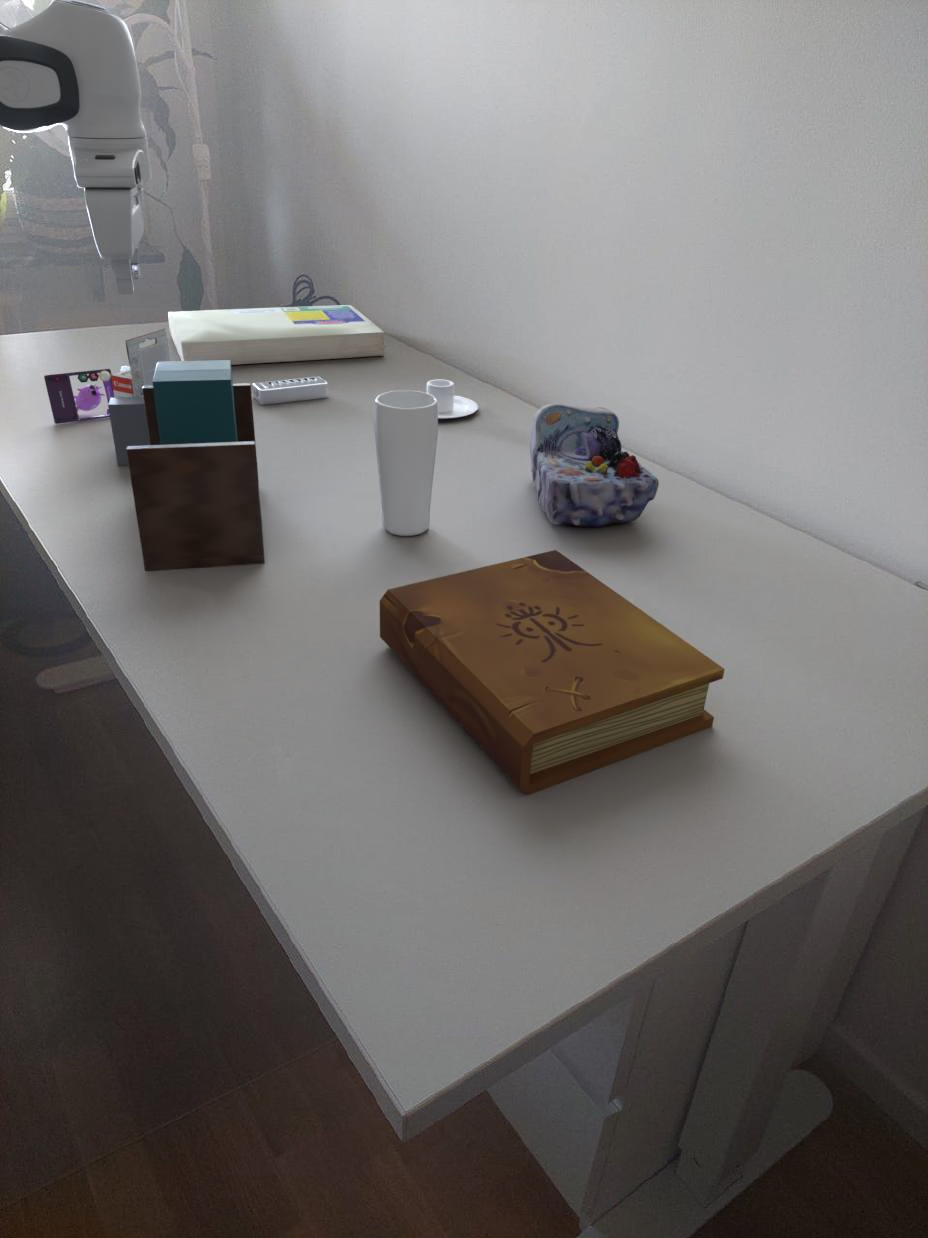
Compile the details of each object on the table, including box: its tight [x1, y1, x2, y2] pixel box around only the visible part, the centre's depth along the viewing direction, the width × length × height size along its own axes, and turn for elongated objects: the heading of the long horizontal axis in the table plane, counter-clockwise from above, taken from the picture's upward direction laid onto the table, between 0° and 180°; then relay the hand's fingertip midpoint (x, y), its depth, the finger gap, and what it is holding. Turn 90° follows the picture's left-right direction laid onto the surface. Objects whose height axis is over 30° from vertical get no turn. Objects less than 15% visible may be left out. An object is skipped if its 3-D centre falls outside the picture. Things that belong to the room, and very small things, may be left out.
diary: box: [379, 549, 726, 796], centre depth 78 cm, size 23×19×6 cm
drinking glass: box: [374, 389, 439, 537], centre depth 103 cm, size 7×7×15 cm
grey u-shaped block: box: [107, 365, 150, 467], centre depth 126 cm, size 7×18×8 cm, turn 12°
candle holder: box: [426, 378, 479, 420], centre depth 143 cm, size 12×12×4 cm
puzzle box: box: [167, 304, 386, 366], centre depth 173 cm, size 36×5×24 cm
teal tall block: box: [153, 360, 238, 445], centre depth 106 cm, size 8×8×15 cm
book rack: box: [126, 382, 265, 572], centre depth 102 cm, size 12×21×13 cm, turn 12°
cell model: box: [529, 403, 660, 528], centre depth 111 cm, size 13×11×20 cm
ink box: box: [111, 328, 171, 398], centre depth 124 cm, size 4×8×15 cm, turn 156°
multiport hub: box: [252, 375, 329, 406], centre depth 147 cm, size 4×11×2 cm, turn 118°
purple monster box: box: [43, 368, 114, 425], centre depth 135 cm, size 7×5×9 cm
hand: (130, 285), depth 118 cm, fingers open, 8 cm apart
